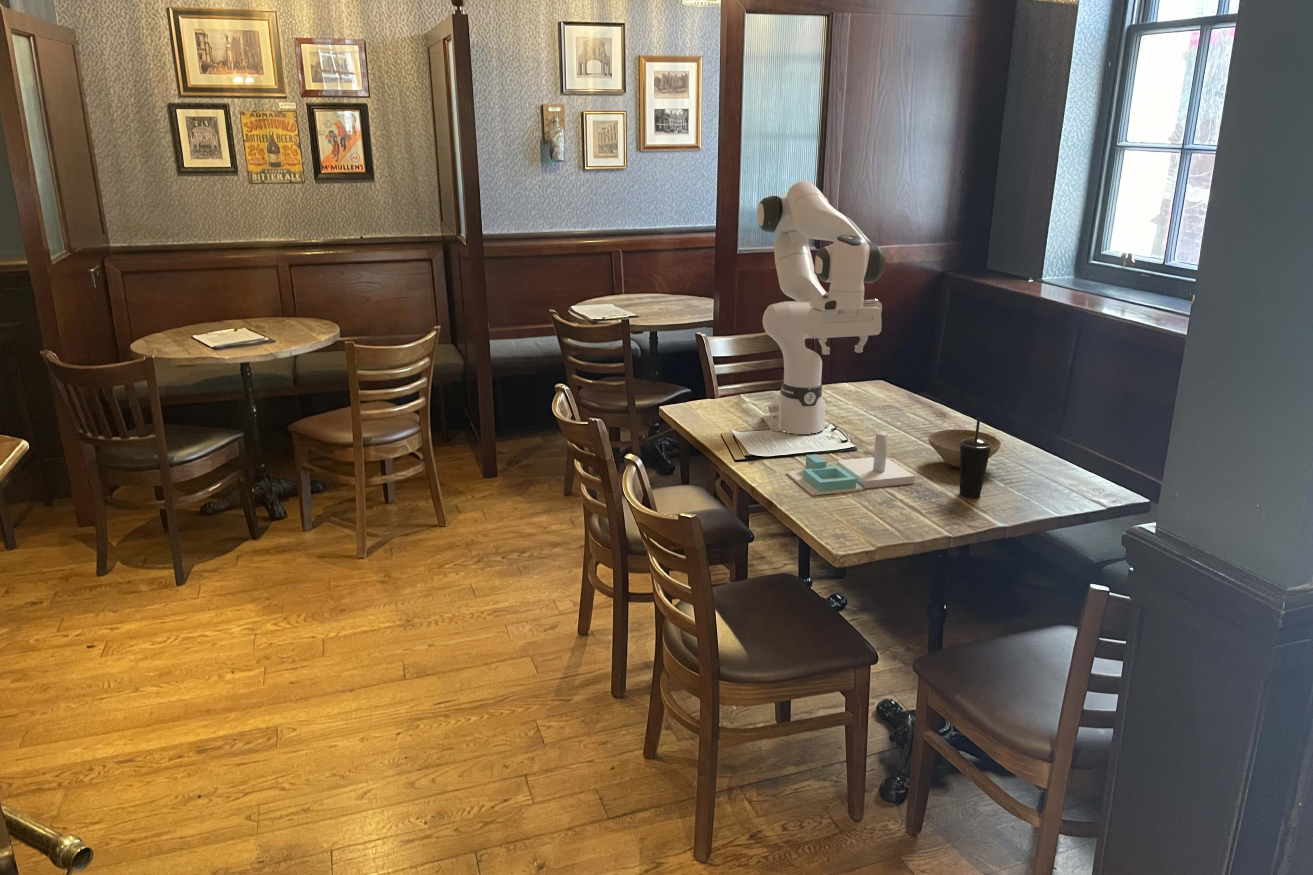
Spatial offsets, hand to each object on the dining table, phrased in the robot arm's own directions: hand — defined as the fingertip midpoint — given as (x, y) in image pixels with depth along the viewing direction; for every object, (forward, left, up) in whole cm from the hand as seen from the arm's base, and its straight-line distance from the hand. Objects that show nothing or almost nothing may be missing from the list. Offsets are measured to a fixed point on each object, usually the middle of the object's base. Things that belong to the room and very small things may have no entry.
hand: (842, 353), depth 241 cm
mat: (+12, -9, -31) cm, 34 cm away
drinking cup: (+30, +22, -31) cm, 48 cm away
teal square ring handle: (+12, -9, -30) cm, 33 cm away
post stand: (+11, +6, -31) cm, 33 cm away
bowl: (+11, +32, -31) cm, 46 cm away
